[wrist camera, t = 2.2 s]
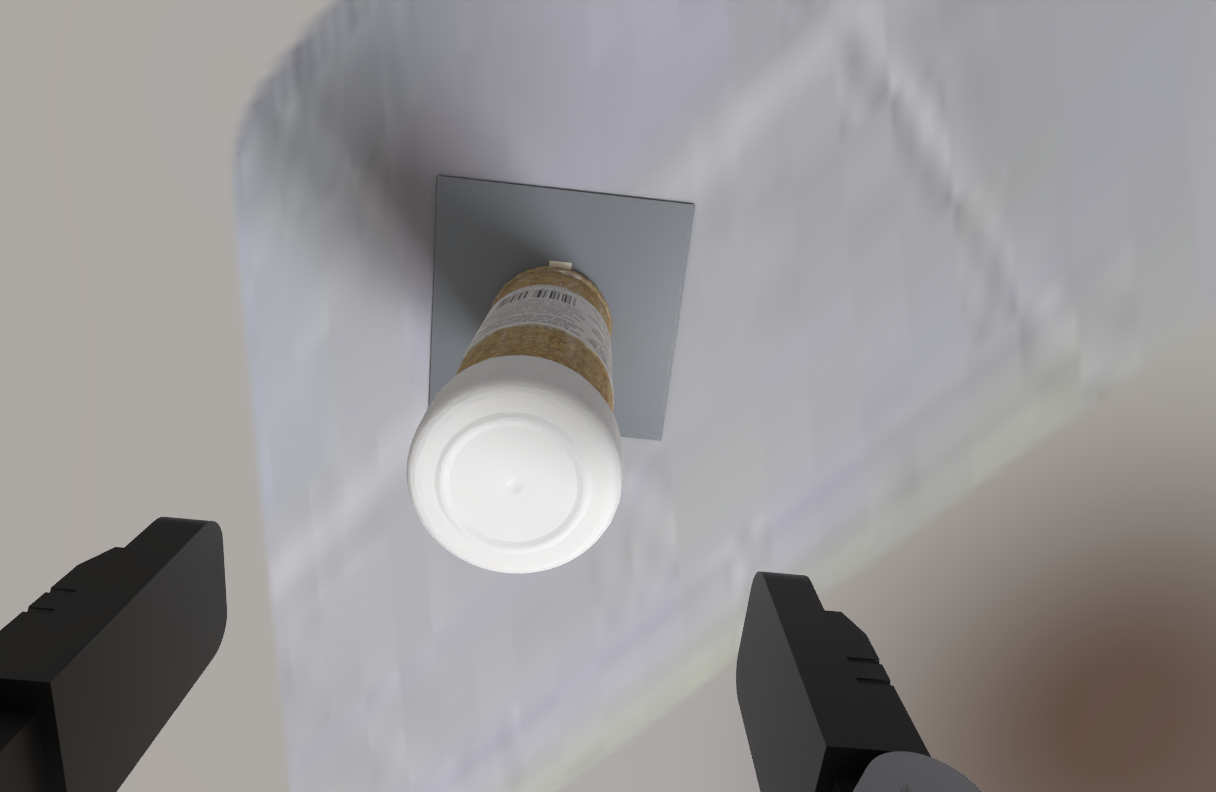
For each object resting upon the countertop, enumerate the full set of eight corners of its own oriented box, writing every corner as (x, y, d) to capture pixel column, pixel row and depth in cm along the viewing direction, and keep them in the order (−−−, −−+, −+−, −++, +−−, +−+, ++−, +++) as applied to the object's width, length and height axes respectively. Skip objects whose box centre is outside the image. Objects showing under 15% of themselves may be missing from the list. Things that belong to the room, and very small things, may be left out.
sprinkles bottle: (480, 367, 29) (385, 557, 16) (503, 248, 28) (420, 357, 15) (598, 394, 30) (594, 601, 17) (628, 279, 28) (648, 410, 15)
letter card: (437, 175, 27) (437, 175, 27) (694, 204, 27) (695, 205, 27) (429, 416, 30) (428, 417, 30) (660, 439, 30) (661, 440, 30)
